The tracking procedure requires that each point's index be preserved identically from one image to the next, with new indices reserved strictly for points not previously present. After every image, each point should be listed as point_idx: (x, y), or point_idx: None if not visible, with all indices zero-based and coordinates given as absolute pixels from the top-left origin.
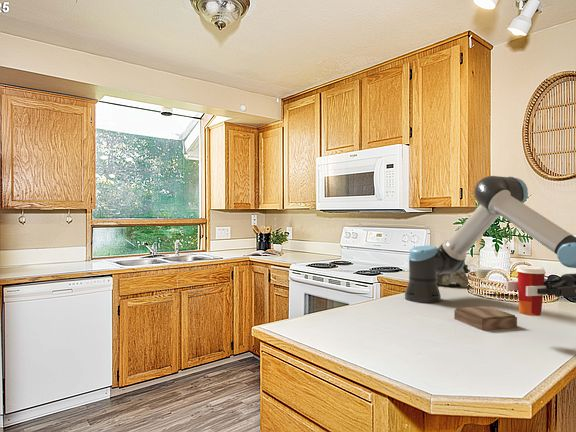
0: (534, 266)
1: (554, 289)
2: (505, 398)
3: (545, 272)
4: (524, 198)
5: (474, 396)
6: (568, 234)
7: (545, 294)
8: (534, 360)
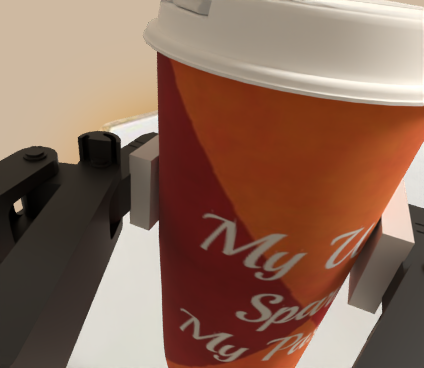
0: (374, 8)
1: (60, 168)
2: (127, 120)
3: (147, 26)
4: None
5: (157, 113)
6: None
7: (133, 215)
8: (127, 243)
